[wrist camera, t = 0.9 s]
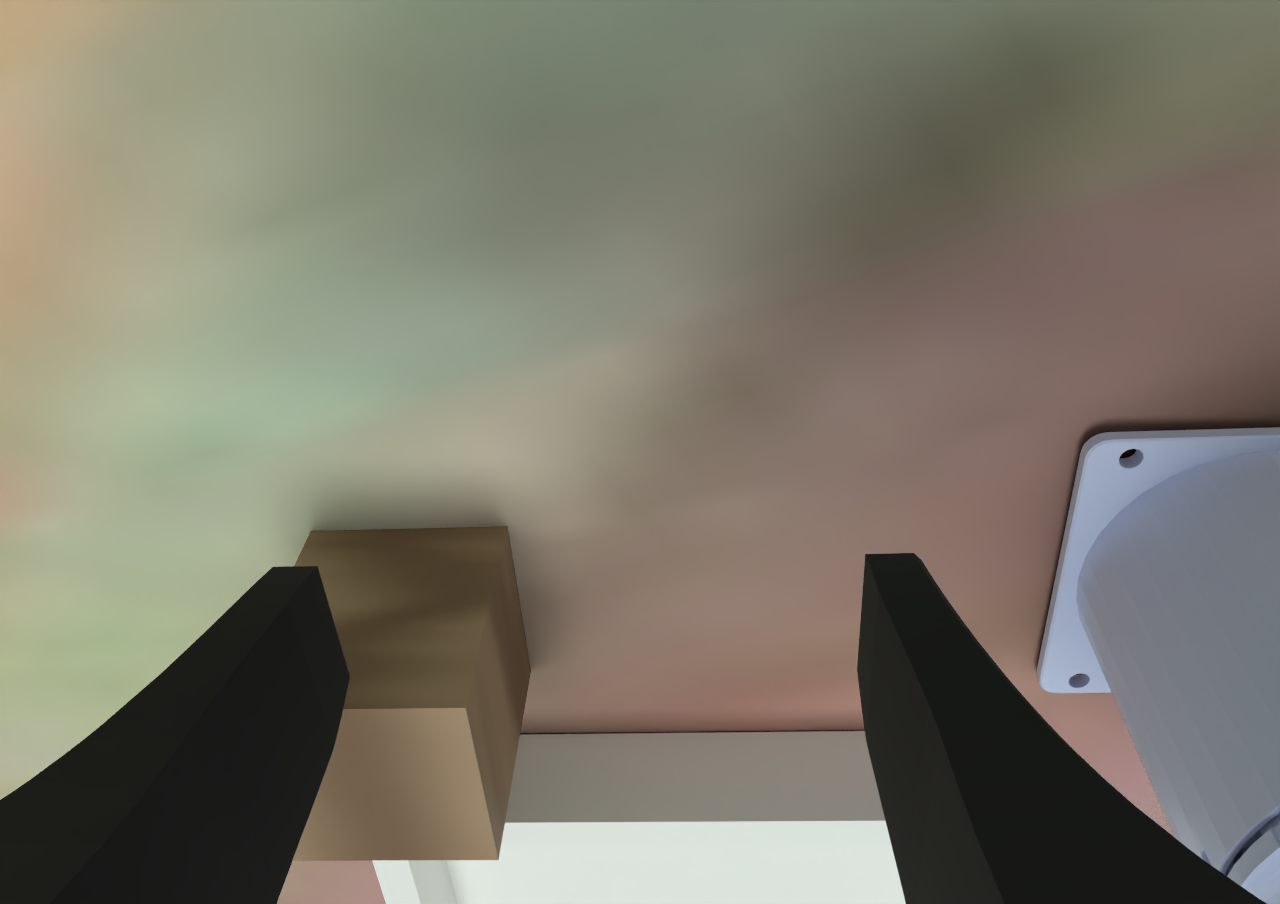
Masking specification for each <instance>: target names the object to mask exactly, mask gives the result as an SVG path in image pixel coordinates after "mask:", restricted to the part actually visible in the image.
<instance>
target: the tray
mask: <svg viewBox="0 0 1280 904" xmlns="http://www.w3.org/2000/svg"><path fill="white" fill-rule="evenodd" d="M372 861H373V864H374V867H375V871H376V874H377V877H378V880H379V883H380V886H381V889H382V892H383V895H384V899H385V902H386V904H906V903H905V898H904V894H903V890H902V886H901V882H900V878H899V873H898V869H897V865H896V861H895V857H894V853H893V849H892V845H891V841H890V837H889V833H888V829H887V825H886V821H885V817H884V813H883V809H882V805H881V801H880V797H879V792H878V788H877V784H876V780H875V776H874V772H873V768H872V764H871V759H870V755H869V751H868V747H867V742H866V736H865V731H812V732H718V733H624V734H530V735H520V737H519V743H518V749H517V754H516V760H515V766H514V772H513V778H512V784H511V790H510V795H509V801H508V807H507V813H506V819H505V825H504V831H503V836H502V842H501V848H500V854H499V860H372Z"/></svg>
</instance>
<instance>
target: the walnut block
mask: <svg viewBox="0 0 1280 904" xmlns="http://www.w3.org/2000/svg"><path fill="white" fill-rule="evenodd" d="M295 566H318V569H319V573H320V576H321V579H322V583H323V586H324V590H325V593H326V596H327V600H328V603H329V607H330V610H331V613H332V617H333V620H334V624H335V627H336V630H337V634H338V637H339V641H340V644H341V647H342V651H343V654H344V658H345V661H346V664H347V668H348V671H349V675H350V679H349V684H348V689H347V694H346V698H345V703H344V708H343V713H342V717H341V721H340V725H339V730H338V734H337V738H336V742H335V746H334V749H333V752H332V755H331V758H330V760H329V763H328V766H327V769H326V771H325V774H324V777H323V780H322V782H321V785H320V788H319V791H318V793H317V796H316V799H315V802H314V804H313V807H312V810H311V812H310V815H309V818H308V820H307V823H306V826H305V828H304V831H303V834H302V836H301V839H300V842H299V844H298V847H297V850H296V852H295V855H294V858H293V860H292V861H330V860H499V854H500V848H501V842H502V836H503V831H504V825H505V819H506V813H507V807H508V801H509V795H510V790H511V784H512V778H513V772H514V766H515V760H516V754H517V749H518V743H519V737H520V731H521V725H522V719H523V713H524V708H525V702H526V696H527V690H528V684H529V678H530V673H531V669H530V663H529V656H528V650H527V644H526V638H525V632H524V626H523V619H522V613H521V607H520V601H519V595H518V589H517V582H516V576H515V570H514V564H513V558H512V552H511V546H510V539H509V533H508V527H468V528H425V529H382V530H339V531H311V532H310V534H309V536H308V538H307V540H306V543H305V545H304V547H303V549H302V551H301V553H300V555H299V557H298V559H297V562H296V564H295ZM295 566H294V567H295Z"/></svg>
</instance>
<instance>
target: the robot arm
mask: <svg viewBox="0 0 1280 904" xmlns="http://www.w3.org/2000/svg"><path fill="white" fill-rule="evenodd" d="M1130 449H1137V450H1136V452H1135V454H1133V455H1132V456H1130V457H1128V458H1124V459H1122V458H1120V456H1121V454H1122V453H1124V452H1125V451H1127V450H1130ZM857 671H858V680H859V688H860V697H861V705H862V713H863V721H864V728H865V736H866V742H867V747H868V751H869V755H870V759H871V764H872V768H873V772H874V776H875V780H876V784H877V788H878V792H879V797H880V801H881V805H882V809H883V813H884V817H885V821H886V825H887V829H888V833H889V837H890V841H891V845H892V849H893V853H894V857H895V861H896V865H897V869H898V873H899V878H900V882H901V886H902V890H903V894H904V898H905V903H906V904H1280V427H1273V428H1238V429H1203V430H1168V431H1132V432H1106V433H1100V434H1097V435H1095V436H1093V437H1091V438H1090V439H1089V440H1088V441H1087V442H1086V443H1085V444H1084V445H1083V448H1082V450H1081V453H1080V458H1079V463H1078V468H1077V473H1076V478H1075V483H1074V488H1073V493H1072V498H1071V503H1070V508H1069V512H1068V517H1067V522H1066V527H1065V532H1064V537H1063V542H1062V547H1061V552H1060V557H1059V562H1058V567H1057V572H1056V577H1055V582H1054V587H1053V592H1052V597H1051V602H1050V607H1049V612H1048V617H1047V622H1046V626H1045V631H1044V636H1043V641H1042V646H1041V651H1040V656H1039V661H1038V666H1037V671H1036V673H1037V679H1038V681H1039V684H1040V686H1041V687H1042V688H1043V690H1045V691H1047V692H1051V693H1112V695H1113V697H1114V699H1115V702H1116V704H1117V706H1118V709H1119V711H1120V713H1121V715H1122V718H1123V720H1124V722H1125V725H1126V727H1127V729H1128V732H1129V734H1130V736H1131V738H1132V741H1133V743H1134V745H1135V748H1136V750H1137V752H1138V754H1139V757H1140V759H1141V761H1142V764H1143V766H1144V768H1145V771H1146V773H1147V775H1148V777H1149V780H1150V782H1151V784H1152V787H1153V789H1154V791H1155V793H1156V796H1157V798H1158V800H1159V803H1160V805H1161V807H1162V810H1163V812H1164V814H1165V816H1166V819H1167V821H1168V823H1169V826H1170V828H1171V830H1172V832H1173V835H1174V837H1175V838H1174V837H1173V836H1172V835H1171V834H1169V833H1168V832H1167V831H1166V830H1164V829H1163V828H1162V827H1161V826H1159V825H1158V824H1157V823H1156V822H1154V821H1153V820H1152V819H1151V818H1149V817H1148V816H1147V815H1145V814H1144V813H1143V812H1142V811H1140V810H1139V809H1138V808H1137V807H1135V806H1134V805H1133V804H1132V803H1131V802H1130V801H1129V800H1127V799H1126V798H1125V797H1124V796H1123V795H1122V794H1121V793H1120V792H1118V791H1117V790H1116V789H1115V788H1114V787H1113V786H1112V785H1110V784H1109V783H1108V782H1107V781H1106V780H1105V779H1104V778H1103V777H1102V776H1100V775H1099V774H1098V773H1097V772H1096V771H1095V770H1094V769H1093V768H1092V767H1091V766H1090V765H1089V764H1088V763H1087V762H1086V761H1085V760H1084V759H1083V758H1082V757H1080V756H1079V755H1078V754H1077V753H1076V752H1075V751H1074V750H1073V749H1072V748H1071V747H1070V746H1069V745H1068V744H1067V743H1066V742H1065V741H1064V740H1063V739H1062V738H1061V737H1060V736H1059V735H1058V734H1057V733H1056V731H1055V730H1054V729H1053V728H1052V727H1051V726H1050V725H1049V724H1048V723H1047V722H1046V721H1045V720H1044V719H1043V718H1042V717H1041V715H1040V714H1039V713H1038V712H1037V711H1036V710H1035V709H1034V708H1033V707H1032V706H1031V704H1030V703H1029V702H1028V701H1027V700H1026V699H1025V698H1024V697H1023V696H1022V694H1021V693H1020V692H1019V691H1018V690H1017V689H1016V687H1015V686H1014V685H1013V684H1012V683H1011V682H1010V680H1009V679H1008V678H1007V677H1006V676H1005V675H1004V673H1003V672H1002V671H1001V670H1000V668H999V667H998V666H997V665H996V663H995V662H994V661H993V660H992V658H991V657H990V656H989V655H988V653H987V652H986V651H985V650H984V648H983V647H982V646H981V645H980V643H979V642H978V641H977V640H976V638H975V637H974V636H973V634H972V633H971V632H970V630H969V629H968V628H967V626H966V625H965V624H964V622H963V621H962V620H961V618H960V617H959V615H958V614H957V613H956V611H955V610H954V608H953V607H952V606H951V604H950V603H949V601H948V600H947V598H946V597H945V596H944V594H943V593H942V591H941V590H940V588H939V587H938V585H937V584H936V582H935V581H934V579H933V578H932V576H931V575H930V573H929V572H928V570H927V568H926V567H925V565H924V563H923V562H922V560H921V559H920V558H918V557H917V556H916V555H915V554H914V553H900V554H866V555H865V569H864V582H863V596H862V610H861V624H860V638H859V652H858V666H857ZM1080 673H1082V674H1081V675H1079V676H1075V677H1072V676H1074V675H1075V674H1080ZM349 679H350V675H349V671H348V668H347V664H346V661H345V658H344V654H343V651H342V647H341V644H340V641H339V637H338V634H337V630H336V627H335V624H334V620H333V617H332V613H331V610H330V607H329V603H328V600H327V596H326V593H325V590H324V586H323V583H322V579H321V576H320V573H319V569H318V566H295V567H273V568H271V569H270V570H269V571H268V572H267V573H266V574H265V575H264V576H263V577H262V578H261V579H259V580H258V581H257V582H256V583H255V584H254V585H253V586H252V587H251V588H250V589H249V590H248V591H247V592H246V593H245V594H244V595H243V596H242V597H241V598H240V599H239V600H238V601H237V602H236V603H235V604H234V605H233V606H232V607H231V608H229V609H228V610H227V611H226V612H225V613H224V614H223V615H222V616H221V617H220V618H219V619H218V620H217V621H216V622H215V623H214V624H213V625H212V626H211V627H210V628H209V629H208V630H207V631H206V632H205V633H204V634H203V635H202V636H201V637H199V638H198V639H197V640H196V641H195V642H194V643H193V644H192V645H191V646H190V647H189V648H188V649H187V650H186V651H185V652H184V653H183V654H182V655H180V656H179V657H178V658H177V659H176V660H175V661H174V662H173V663H172V664H171V665H170V666H169V667H168V668H167V669H166V670H165V671H163V672H162V673H161V674H160V675H159V676H158V677H157V678H156V679H154V680H153V681H152V682H151V683H150V684H149V685H147V686H146V687H145V688H144V689H143V690H142V691H141V692H139V693H138V694H137V695H136V696H135V697H134V698H133V699H131V700H130V701H129V702H128V703H127V704H126V705H124V706H123V707H122V708H121V709H120V710H119V711H118V712H116V713H115V714H114V715H113V716H112V717H111V718H109V719H108V720H107V721H106V722H105V723H104V724H103V725H101V726H100V727H99V728H98V729H96V730H95V731H94V732H93V733H91V734H90V735H89V736H88V737H87V738H85V739H84V740H83V741H81V742H80V743H79V744H78V745H76V746H75V747H74V748H72V749H71V750H70V751H69V752H67V753H66V754H65V755H63V756H62V757H61V758H59V759H58V760H56V761H55V762H54V763H52V764H51V765H50V766H48V767H47V768H46V769H44V770H43V771H42V772H40V773H39V774H38V775H36V776H35V777H33V778H32V779H31V780H29V781H28V782H26V783H25V784H24V785H22V786H21V787H19V788H18V789H16V790H15V791H13V792H12V793H10V794H9V795H7V796H6V797H4V798H3V799H1V800H0V904H277V901H278V898H279V895H280V892H281V890H282V887H283V884H284V882H285V879H286V876H287V874H288V871H289V868H290V866H291V863H292V860H293V858H294V855H295V852H296V850H297V847H298V844H299V842H300V839H301V836H302V834H303V831H304V828H305V826H306V823H307V820H308V818H309V815H310V812H311V810H312V807H313V804H314V802H315V799H316V796H317V793H318V791H319V788H320V785H321V782H322V780H323V777H324V774H325V771H326V769H327V766H328V763H329V760H330V758H331V755H332V752H333V749H334V746H335V742H336V738H337V734H338V730H339V725H340V721H341V717H342V713H343V708H344V703H345V698H346V694H347V689H348V684H349Z"/></svg>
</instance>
